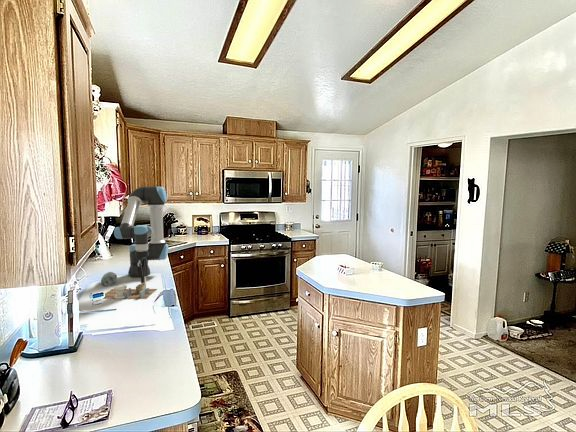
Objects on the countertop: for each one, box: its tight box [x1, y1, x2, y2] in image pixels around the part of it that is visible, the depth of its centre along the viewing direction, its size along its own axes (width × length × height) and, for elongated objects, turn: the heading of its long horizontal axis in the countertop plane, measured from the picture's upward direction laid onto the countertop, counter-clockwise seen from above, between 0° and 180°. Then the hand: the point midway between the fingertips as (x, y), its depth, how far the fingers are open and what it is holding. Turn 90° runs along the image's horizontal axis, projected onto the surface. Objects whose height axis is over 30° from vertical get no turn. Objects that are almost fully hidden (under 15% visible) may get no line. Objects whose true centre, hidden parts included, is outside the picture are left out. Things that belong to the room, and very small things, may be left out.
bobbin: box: [113, 284, 128, 300], centre depth 208 cm, size 7×7×6 cm
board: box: [102, 288, 158, 300], centre depth 214 cm, size 18×29×1 cm, turn 90°
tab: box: [135, 283, 147, 293], centre depth 217 cm, size 5×4×4 cm
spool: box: [100, 271, 118, 287], centre depth 235 cm, size 14×10×10 cm
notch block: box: [125, 287, 150, 298], centre depth 210 cm, size 8×12×4 cm, turn 90°
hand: (143, 286), depth 221 cm, fingers closed
